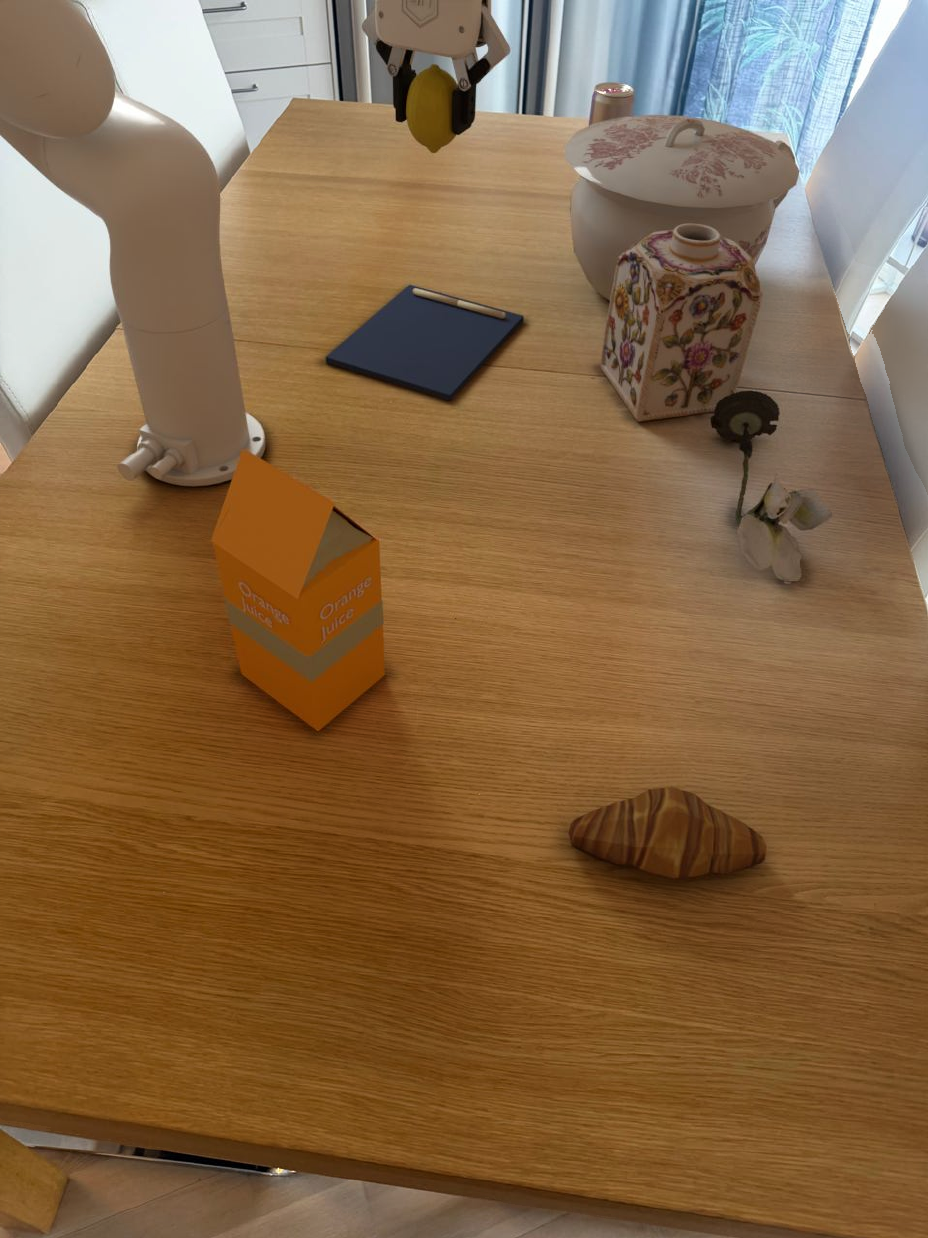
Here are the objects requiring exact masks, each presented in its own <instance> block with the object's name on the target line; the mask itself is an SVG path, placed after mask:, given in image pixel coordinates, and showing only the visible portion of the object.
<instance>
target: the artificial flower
mask: <svg viewBox="0 0 928 1238" xmlns="http://www.w3.org/2000/svg"><path fill="white" fill-rule="evenodd" d="M780 415H781V413H780V408H779V404H778V402H777V401H775V400H774V399H773V398H772V397H771V396H769V395H767V393H764V392H761V391H757V390H741V391H736V392H735V393H733V394H731V395H729V396H726V397H724V398H723V399H722V400H719V402H718V403H717V404H716V407H715V410H714V411H713V415H712V416H710V426H711V428H712V429H715V431H716V433H717V435H718V436H719V437H720V438H721V439H723V440H724V441H726V442H731V441H736V442H739V445H738V447H739V451H741V452H742V453H743V456H744V459H743V461H742V472H743V475H742V479H741V486H740V491H739V498H738V501H737V508H736V510H735V520H736V521H737V523H738V524H739V525H738V527H737V530H736V532H737V536H738V542H739V549H740V551H741V553H742V555H743V557H744V559H746V560H747V562H748V563H749V564H750V565H751V566H752V567H753V569H754V570H756V571H762V570H766V569H768V568H769V567H771V569H772V571H773V573H774V575H775V577H776V578H777V579H779V580H781V581H783V583H784V584H785V585H787V584H788V585H790V584H791V582H798V581H800V579H801V578H802V577H803V573H802V568H801V560H802V555H803V553H802V552H801V550H800V549H799V543H798V540H797V538H795V536H793V535H792V534H791V533H790V532H789V530H787V527H786V526H784V525H785V524H787V523H788V522H789V523H791V524H792V525H793V526H794V527H795V528H797V529H798V530H799V531H811V530H814V529H816V528H818V527H820V526H823V525H824V524H827V523H828V522H829V521H830V520H831V519H832V518H833V516H834V514H833V511H832V510H831V509H830V508H829V507H828V506H826V504H825V503H824V501H823V500H822V498H821V496H820V494H819V493H818V492H817V491H816V490H814V489H812V488H806V489H799V490H792V491H790V492H789V491H787V490H786V487H783V485H782V483H781V482H780V481H779V480H778V477H777V476H778V473H776V474H775V476H774V479H773V481H772V482H770V483H769V484H768V487H767V488H766V489H765V492H764V493H763V495H762V497H761V498H760V500H759V502H758V503H757V504H756V505H755V506H754V507H753V508H751V509H749V511H748V512H746V513H745V514H743V515H742V509H743V508H742V507H743V504H744V500H745V497H744V496H745V495H746V491H747V484H748V479H749V461H750V460H749V459H751V457H752V456H753V451H754V449H753V443H752V442H753V441H752V440H753V439H754V438H755V437H756V436H758V437H760V436H762V435H765V434H766V435H768V436H772V435H773V434H774V433H775V432H776V431H777V427H778V425H777V424H776V423H775V424H772V423H771V422H779V421H780V418H779V416H780ZM716 453H718V450H717V451H716ZM779 523H782V524H779Z"/></svg>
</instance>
